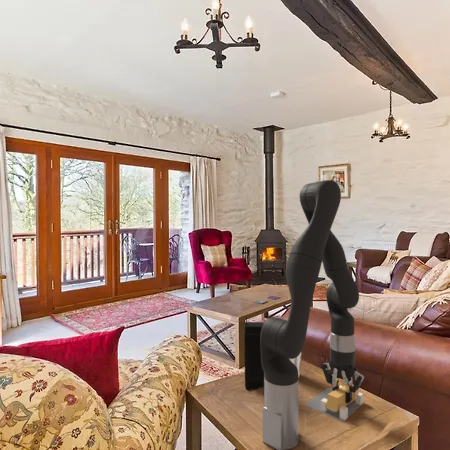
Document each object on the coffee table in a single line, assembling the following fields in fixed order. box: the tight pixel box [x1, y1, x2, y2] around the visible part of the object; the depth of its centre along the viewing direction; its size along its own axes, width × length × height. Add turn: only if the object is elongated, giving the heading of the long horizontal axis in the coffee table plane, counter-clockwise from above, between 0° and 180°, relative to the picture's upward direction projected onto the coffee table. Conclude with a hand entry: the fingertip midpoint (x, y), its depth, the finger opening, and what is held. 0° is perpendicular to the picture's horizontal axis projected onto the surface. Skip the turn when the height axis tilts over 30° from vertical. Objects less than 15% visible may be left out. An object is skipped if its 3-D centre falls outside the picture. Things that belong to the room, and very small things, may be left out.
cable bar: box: [327, 384, 357, 412], centre depth 110 cm, size 13×3×4 cm, turn 136°
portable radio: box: [243, 316, 265, 390], centre depth 126 cm, size 8×6×25 cm
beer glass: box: [290, 352, 302, 378], centre depth 132 cm, size 7×7×15 cm
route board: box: [304, 385, 365, 423], centre depth 112 cm, size 15×13×4 cm
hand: (342, 399), depth 110 cm, fingers closed on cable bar, 3 cm apart
